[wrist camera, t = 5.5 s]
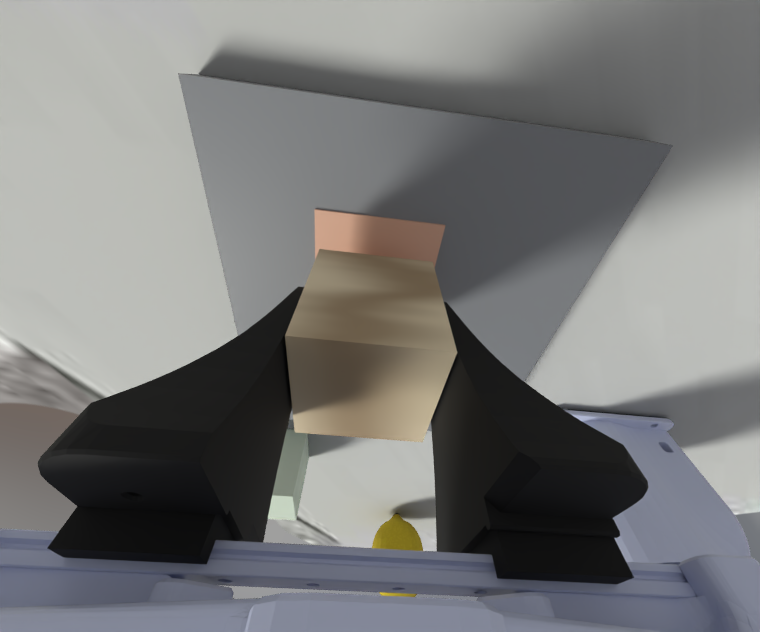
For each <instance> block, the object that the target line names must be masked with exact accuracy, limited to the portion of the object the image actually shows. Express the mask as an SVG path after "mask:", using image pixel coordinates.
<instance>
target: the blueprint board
mask: <svg viewBox="0 0 760 632" xmlns="http://www.w3.org/2000/svg"><path fill="white" fill-rule="evenodd" d="M178 75H179V79H180V83H181V88H182V92H183V97H184V101H185V105H186V110H187V114H188V118H189V123H190V127H191V132H192V136H193V140H194V145H195V149H196V153H197V158H198V162H199V167H200V171H201V175H202V180H203V184H204V188H205V193H206V197H207V202H208V206H209V210H210V215H211V219H212V223H213V228H214V232H215V237H216V241H217V245H218V250H219V254H220V258H221V263H222V267H223V272H224V276H225V280H226V285H227V289H228V293H229V298H230V302H231V307H232V311H233V315H234V320H235V324H236V329H237V333H238V336H239V335H240V334H242V333H243V332H245V331H246V330H247V329H249V328H250V327H251V326H253V325H254V324H255V323H256V322H258V321H259V320H260V319H262V318H263V317H264V316H265V315H267V314H268V313H269V312H270V311H271V310H272V309H274V308H275V307H276V306H277V305H278V304H279V303H280V302H282V301H283V300H284V299H285V298H286V297H287V296H288V295H289V294H290V293H291V292H293V291H294V290H295V289H296V288H297V287H305V284H306V282H307V279H308V277H309V274H310V272H311V269H312V267H313V264H314V262H315V259H316V257H317V254H318V252H319V249H325V250H334V251H343V252H351V253H360V254H369V255H378V256H386V257H395V258H404V259H413V260H421V261H430V262H433V264H434V268H435V272H436V276H437V279H438V283H439V287H440V290H441V294H442V298H443V301H444V302H447V303H448V305H449V306H450V307H451V308H452V309H453V310H454V312H455V313H456V314H457V315H458V317H459V318H460V319H461V320H462V321H463V323H464V324H465V325H466V326H467V327H468V328H469V330H470V331H471V332H472V333H473V334H474V335H475V336H476V338H477V339H478V340H479V341H480V342H481V343H482V344H483V345H484V346H485V347H486V348H487V349H488V350H489V351H490V352H491V353H492V354H493V355H494V356H495V357H496V358H497V359H498V360H499V361H500V362H501V363H502V364H503V365H505V366H506V367H507V368H508V369H509V370H510V371H512V372H513V373H514V374H515V375H516V376H517V377H519V378H520V379H521V380H522V381H525V380H526V378H527V376H528V375H529V373H530V372H531V370H532V368H533V367H534V365H535V364H536V362H537V361H538V359H539V357H540V356H541V354H542V353H543V351H544V349H545V348H546V346H547V345H548V343H549V341H550V340H551V338H552V337H553V335H554V334H555V332H556V330H557V329H558V327H559V326H560V324H561V322H562V321H563V319H564V318H565V316H566V315H567V313H568V311H569V310H570V308H571V307H572V305H573V303H574V302H575V300H576V299H577V297H578V295H579V294H580V292H581V291H582V289H583V288H584V286H585V284H586V283H587V281H588V280H589V278H590V276H591V275H592V273H593V272H594V270H595V268H596V267H597V265H598V264H599V262H600V261H601V259H602V257H603V256H604V254H605V253H606V251H607V249H608V248H609V246H610V245H611V243H612V241H613V240H614V238H615V237H616V235H617V234H618V232H619V230H620V229H621V227H622V226H623V224H624V222H625V221H626V219H627V218H628V216H629V214H630V213H631V211H632V210H633V208H634V207H635V205H636V203H637V202H638V200H639V199H640V197H641V195H642V194H643V192H644V191H645V189H646V188H647V186H648V184H649V183H650V181H651V180H652V178H653V176H654V175H655V173H656V172H657V170H658V168H659V167H660V165H661V164H662V162H663V161H664V159H665V157H666V156H667V154H668V153H669V151H670V149H671V148H672V145H667V144H662V143H658V142H653V141H647V140H641V139H634V138H627V137H620V136H613V135H606V134H600V133H593V132H586V131H579V130H572V129H566V128H559V127H552V126H545V125H538V124H531V123H525V122H518V121H511V120H504V119H497V118H490V117H484V116H477V115H470V114H463V113H456V112H450V111H443V110H436V109H429V108H422V107H415V106H409V105H402V104H395V103H388V102H381V101H374V100H368V99H361V98H354V97H347V96H340V95H334V94H327V93H320V92H313V91H306V90H299V89H293V88H286V87H279V86H272V85H265V84H258V83H252V82H245V81H238V80H231V79H224V78H217V77H211V76H204V75H197V74H180V73H178ZM289 420H293V410H292V411H291V414H290V418H289ZM427 431H432V428H431V422H430V424H429V427H428V429H427Z"/></svg>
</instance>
